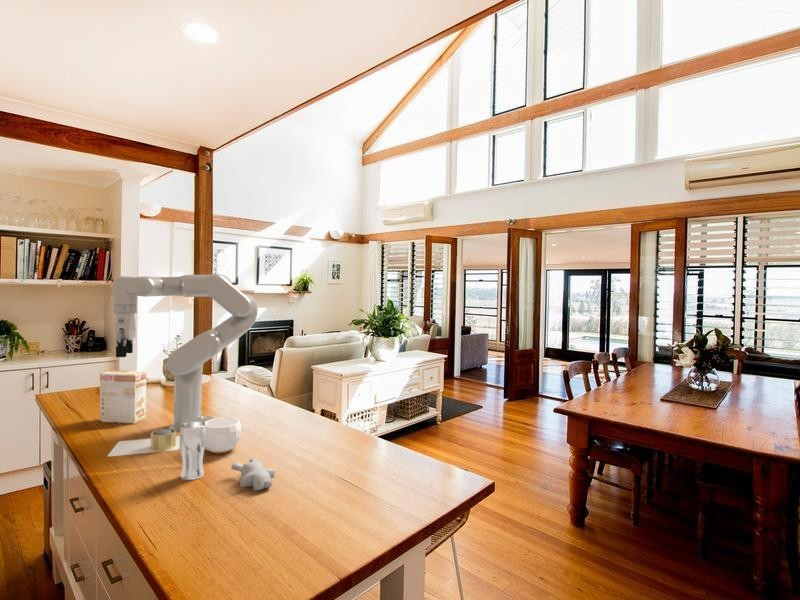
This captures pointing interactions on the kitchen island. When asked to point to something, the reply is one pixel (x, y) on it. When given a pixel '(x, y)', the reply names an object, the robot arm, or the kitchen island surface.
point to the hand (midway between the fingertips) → (124, 355)
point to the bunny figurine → (254, 474)
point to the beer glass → (192, 449)
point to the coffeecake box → (122, 396)
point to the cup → (222, 434)
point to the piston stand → (139, 446)
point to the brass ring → (163, 440)
